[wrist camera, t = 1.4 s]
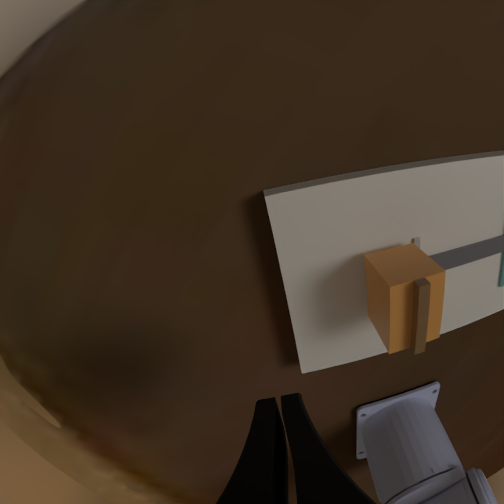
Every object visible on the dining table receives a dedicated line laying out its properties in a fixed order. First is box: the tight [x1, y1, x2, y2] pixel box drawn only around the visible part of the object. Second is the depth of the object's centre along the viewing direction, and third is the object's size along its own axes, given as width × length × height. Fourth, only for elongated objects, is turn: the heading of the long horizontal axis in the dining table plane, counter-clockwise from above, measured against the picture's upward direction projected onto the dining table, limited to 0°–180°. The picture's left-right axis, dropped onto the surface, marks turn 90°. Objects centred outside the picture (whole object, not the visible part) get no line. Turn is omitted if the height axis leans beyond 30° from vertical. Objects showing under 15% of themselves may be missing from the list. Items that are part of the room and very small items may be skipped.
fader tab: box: [364, 243, 446, 355], centre depth 15 cm, size 4×3×4 cm
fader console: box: [263, 150, 504, 373], centre depth 18 cm, size 12×28×2 cm, turn 103°
